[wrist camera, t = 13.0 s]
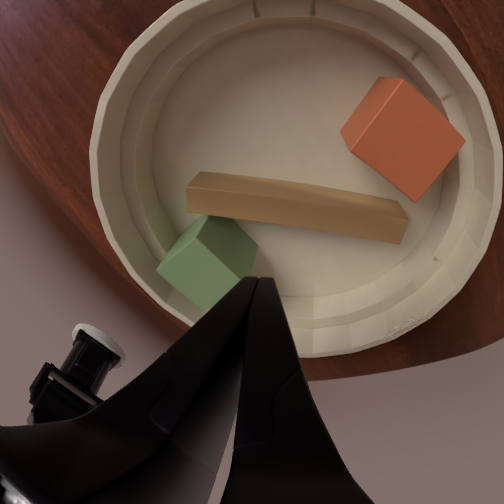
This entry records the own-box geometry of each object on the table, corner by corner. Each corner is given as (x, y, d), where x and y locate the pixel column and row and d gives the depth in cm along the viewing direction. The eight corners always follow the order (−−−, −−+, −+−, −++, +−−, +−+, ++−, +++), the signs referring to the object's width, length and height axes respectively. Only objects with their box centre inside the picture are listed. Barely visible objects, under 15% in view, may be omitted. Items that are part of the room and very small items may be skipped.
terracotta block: (393, 173, 14) (415, 204, 11) (338, 131, 14) (348, 150, 11) (433, 122, 12) (467, 141, 9) (379, 75, 11) (402, 77, 8)
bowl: (296, 338, 25) (291, 386, 21) (95, 188, 19) (54, 222, 15) (503, 195, 14) (541, 234, 10) (278, -58, 8) (265, -98, 4)
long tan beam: (390, 223, 16) (400, 245, 14) (200, 194, 18) (186, 212, 16) (398, 200, 15) (409, 220, 13) (200, 170, 17) (185, 186, 15)
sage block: (218, 272, 21) (202, 311, 18) (179, 234, 20) (155, 270, 17) (259, 245, 19) (247, 286, 16) (216, 202, 18) (195, 237, 15)
